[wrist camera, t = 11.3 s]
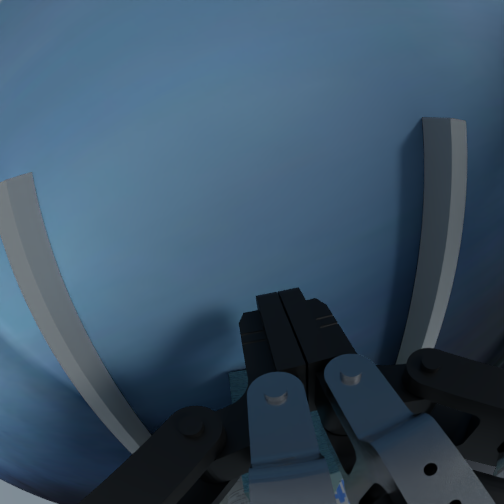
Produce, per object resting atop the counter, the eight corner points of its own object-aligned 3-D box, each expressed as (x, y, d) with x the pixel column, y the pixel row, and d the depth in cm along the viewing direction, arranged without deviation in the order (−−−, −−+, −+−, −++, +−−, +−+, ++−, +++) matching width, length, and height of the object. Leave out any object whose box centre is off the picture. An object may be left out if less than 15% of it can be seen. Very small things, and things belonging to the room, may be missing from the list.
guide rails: (14, 179, 9) (-12, 188, 7) (438, 119, 10) (465, 120, 9) (136, 434, 16) (133, 455, 14) (400, 383, 18) (411, 401, 16)
